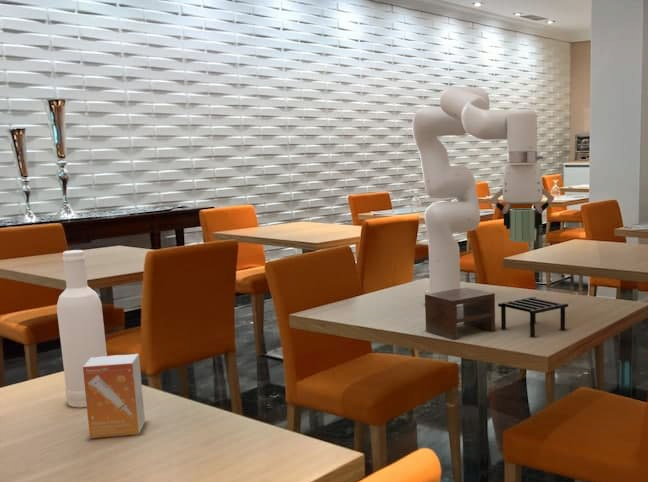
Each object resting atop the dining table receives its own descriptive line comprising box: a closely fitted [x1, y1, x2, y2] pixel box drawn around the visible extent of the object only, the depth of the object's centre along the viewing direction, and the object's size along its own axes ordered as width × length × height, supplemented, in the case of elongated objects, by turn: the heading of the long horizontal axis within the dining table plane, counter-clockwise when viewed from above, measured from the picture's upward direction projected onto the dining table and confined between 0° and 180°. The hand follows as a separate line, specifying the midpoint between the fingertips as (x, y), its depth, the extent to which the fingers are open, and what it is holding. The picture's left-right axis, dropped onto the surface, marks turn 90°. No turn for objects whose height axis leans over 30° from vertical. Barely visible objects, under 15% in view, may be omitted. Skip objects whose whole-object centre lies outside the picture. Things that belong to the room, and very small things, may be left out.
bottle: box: [56, 249, 108, 409], centre depth 146 cm, size 8×8×30 cm
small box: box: [83, 353, 146, 439], centre depth 131 cm, size 8×6×13 cm
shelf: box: [424, 287, 496, 340], centre depth 198 cm, size 12×14×10 cm
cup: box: [508, 207, 537, 243], centre depth 194 cm, size 7×7×8 cm
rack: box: [497, 296, 569, 338], centre depth 198 cm, size 13×13×7 cm
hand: (522, 228), depth 194 cm, fingers closed on cup, 7 cm apart
